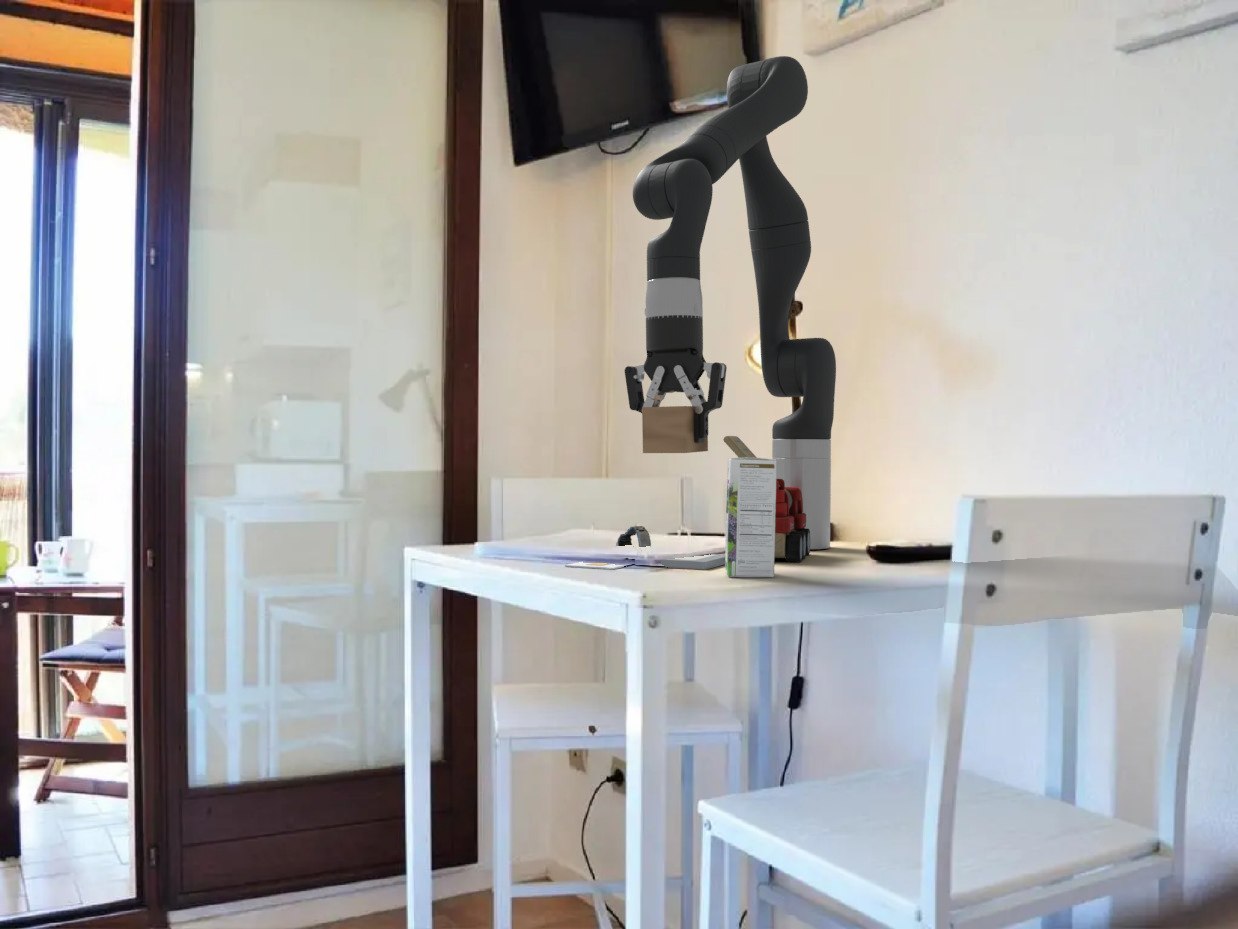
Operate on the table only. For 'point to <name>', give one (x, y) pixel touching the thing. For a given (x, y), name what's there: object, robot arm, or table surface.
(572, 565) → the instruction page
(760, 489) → the syrup box
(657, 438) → the brick
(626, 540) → the wristwatch
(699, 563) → the plate
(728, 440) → the toy fire truck
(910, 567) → the table surface
